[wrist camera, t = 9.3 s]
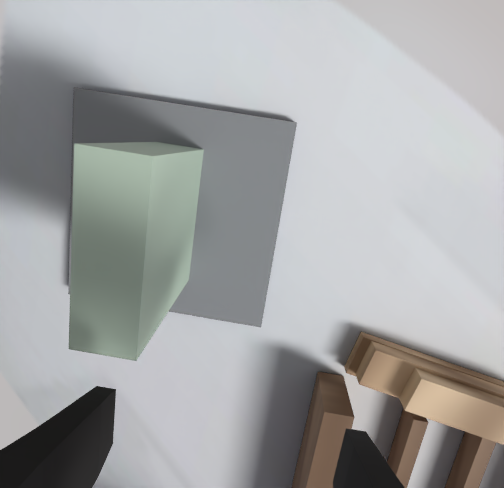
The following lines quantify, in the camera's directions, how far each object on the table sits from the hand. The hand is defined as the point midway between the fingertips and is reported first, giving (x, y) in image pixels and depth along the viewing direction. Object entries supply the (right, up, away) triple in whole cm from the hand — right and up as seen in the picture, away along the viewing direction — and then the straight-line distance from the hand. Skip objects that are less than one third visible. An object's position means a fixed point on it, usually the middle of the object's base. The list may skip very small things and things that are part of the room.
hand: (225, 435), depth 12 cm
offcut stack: (+12, -2, +11) cm, 16 cm away
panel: (-3, +7, +8) cm, 12 cm away
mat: (-3, +8, +9) cm, 12 cm away
